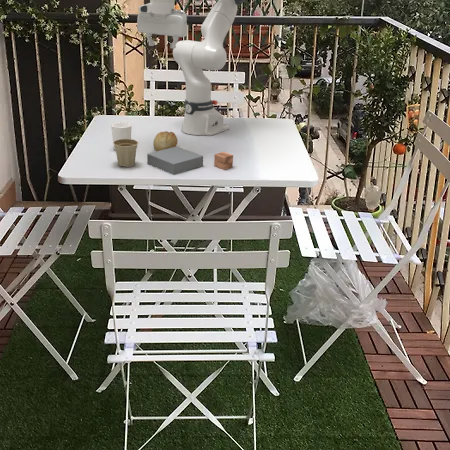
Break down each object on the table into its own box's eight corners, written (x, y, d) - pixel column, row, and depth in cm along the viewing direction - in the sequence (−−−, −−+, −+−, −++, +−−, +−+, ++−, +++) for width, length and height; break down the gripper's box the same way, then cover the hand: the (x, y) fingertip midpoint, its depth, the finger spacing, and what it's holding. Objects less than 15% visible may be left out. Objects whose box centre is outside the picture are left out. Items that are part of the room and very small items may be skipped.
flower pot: (127, 170, 216) (127, 147, 212) (108, 165, 220) (107, 142, 217) (144, 163, 223) (143, 141, 220) (125, 158, 228) (124, 137, 224)
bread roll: (177, 145, 245) (178, 127, 242) (177, 157, 232) (177, 138, 228) (154, 145, 245) (154, 126, 241) (152, 156, 231) (152, 137, 228)
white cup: (128, 152, 234) (127, 128, 230) (109, 150, 235) (108, 126, 231) (134, 147, 241) (134, 123, 237) (116, 145, 242) (115, 121, 238)
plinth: (176, 155, 233) (177, 146, 231) (203, 165, 224) (203, 155, 222) (147, 163, 223) (147, 153, 222) (173, 174, 214) (173, 164, 212)
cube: (223, 163, 227) (223, 151, 225) (232, 167, 224) (233, 154, 222) (214, 166, 224) (214, 154, 222) (223, 170, 221) (224, 157, 219)
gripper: (190, 10, 216) (190, 49, 222) (143, 5, 223) (144, 43, 229) (182, 11, 211) (182, 51, 216) (134, 6, 218) (135, 45, 224)
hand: (162, 47), depth 223 cm, fingers open, 8 cm apart
